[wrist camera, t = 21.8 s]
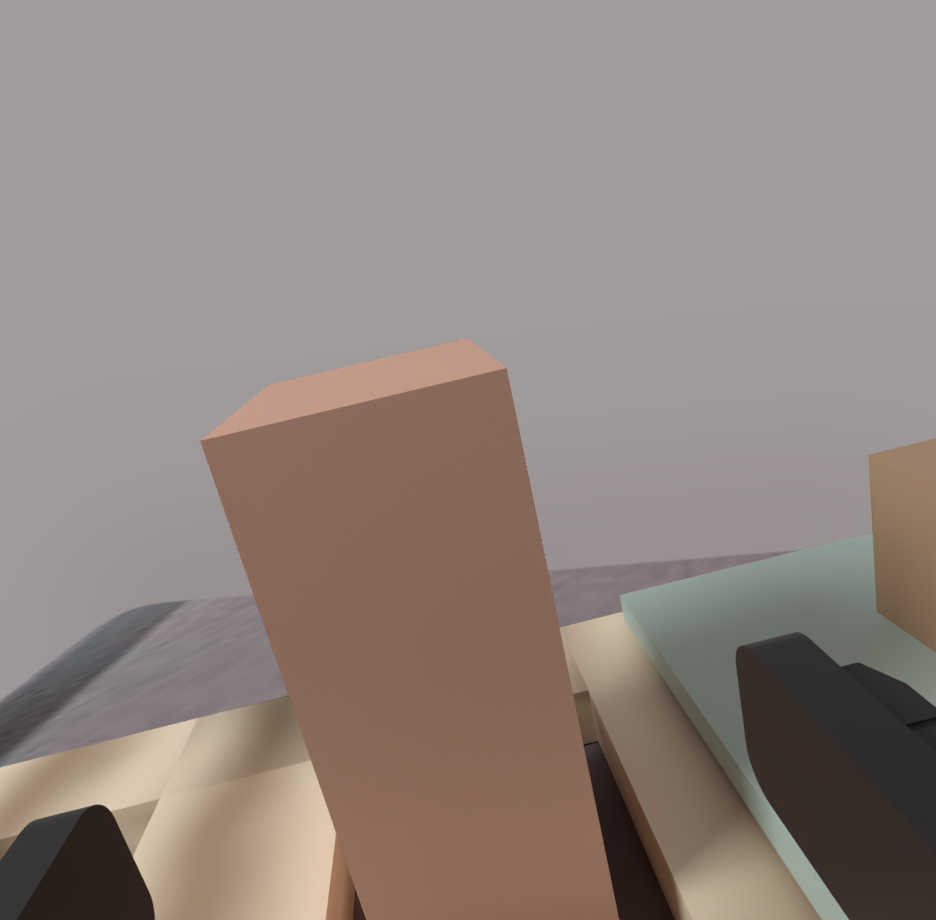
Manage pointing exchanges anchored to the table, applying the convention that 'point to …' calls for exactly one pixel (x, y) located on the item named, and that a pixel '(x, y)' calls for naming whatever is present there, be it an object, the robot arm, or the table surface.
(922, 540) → the cover
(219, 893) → the puzzle board
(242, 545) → the block
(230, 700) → the table surface
